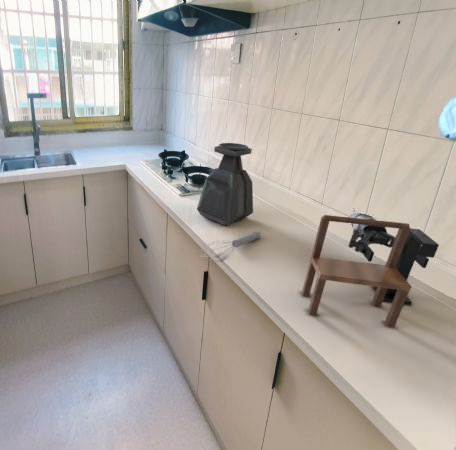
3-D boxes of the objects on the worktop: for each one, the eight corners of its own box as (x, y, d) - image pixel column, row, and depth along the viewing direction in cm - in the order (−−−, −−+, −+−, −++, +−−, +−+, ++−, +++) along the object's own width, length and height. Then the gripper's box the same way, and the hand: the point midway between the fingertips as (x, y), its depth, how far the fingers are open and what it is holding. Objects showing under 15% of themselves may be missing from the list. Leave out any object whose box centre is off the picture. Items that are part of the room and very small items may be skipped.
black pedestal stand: (372, 286, 98) (395, 223, 90) (398, 290, 97) (424, 227, 89) (388, 310, 88) (415, 242, 80) (418, 314, 87) (448, 245, 79)
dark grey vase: (226, 229, 131) (236, 152, 118) (195, 216, 142) (201, 144, 130) (252, 218, 142) (265, 147, 129) (222, 207, 153) (230, 140, 141)
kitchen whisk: (267, 238, 125) (270, 223, 122) (210, 270, 103) (213, 252, 100) (252, 233, 128) (255, 218, 126) (195, 263, 107) (197, 245, 104)
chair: (378, 303, 91) (408, 222, 81) (394, 327, 82) (430, 240, 72) (301, 292, 94) (322, 213, 84) (309, 314, 85) (333, 229, 75)
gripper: (406, 243, 111) (443, 278, 92) (326, 234, 115) (345, 265, 96) (414, 223, 108) (454, 254, 89) (332, 214, 112) (353, 242, 93)
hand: (398, 260), depth 92 cm, fingers open, 13 cm apart
